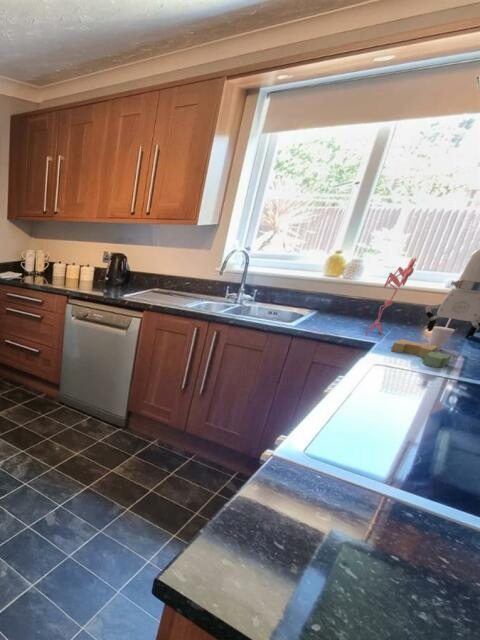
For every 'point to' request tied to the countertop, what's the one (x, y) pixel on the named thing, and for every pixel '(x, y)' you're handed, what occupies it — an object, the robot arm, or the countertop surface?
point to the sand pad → (413, 348)
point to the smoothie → (440, 335)
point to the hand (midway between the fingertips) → (447, 334)
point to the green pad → (436, 359)
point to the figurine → (404, 274)
